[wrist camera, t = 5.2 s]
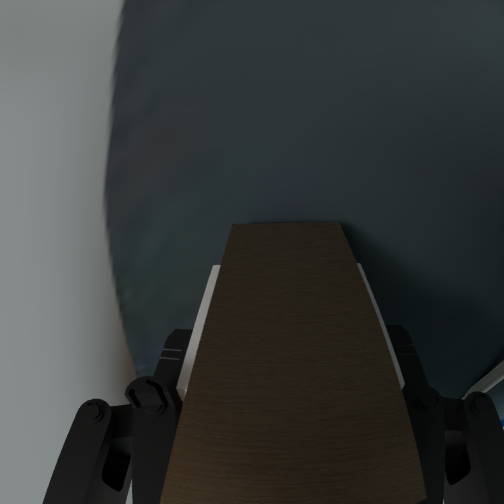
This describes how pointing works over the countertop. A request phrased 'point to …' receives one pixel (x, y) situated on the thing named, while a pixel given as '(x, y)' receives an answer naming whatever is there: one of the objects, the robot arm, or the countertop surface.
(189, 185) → the countertop surface
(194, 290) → the countertop surface
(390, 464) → the brown block grey strip
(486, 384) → the caliper
